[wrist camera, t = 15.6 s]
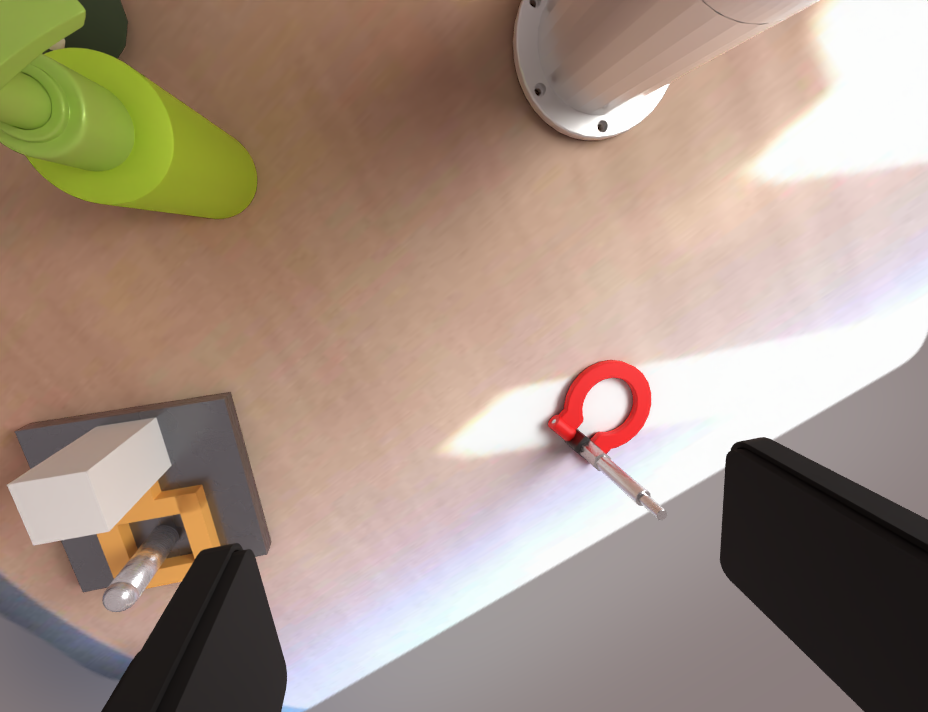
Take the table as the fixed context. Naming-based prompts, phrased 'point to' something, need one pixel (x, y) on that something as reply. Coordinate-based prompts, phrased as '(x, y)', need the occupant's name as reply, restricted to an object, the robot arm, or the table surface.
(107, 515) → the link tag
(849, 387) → the table surface
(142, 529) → the plate
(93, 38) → the character mug
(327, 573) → the table surface
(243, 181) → the soap dispenser
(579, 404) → the tow hook
